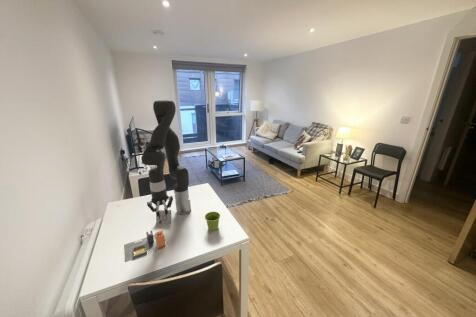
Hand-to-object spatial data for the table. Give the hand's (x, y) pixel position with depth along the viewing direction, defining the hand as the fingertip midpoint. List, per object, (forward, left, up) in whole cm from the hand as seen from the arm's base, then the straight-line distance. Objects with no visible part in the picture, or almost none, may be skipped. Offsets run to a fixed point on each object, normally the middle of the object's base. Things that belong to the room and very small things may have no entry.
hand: (162, 215), depth 110 cm
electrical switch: (-2, -14, -15) cm, 21 cm away
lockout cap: (+3, +6, -14) cm, 15 cm away
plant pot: (-27, +6, -15) cm, 32 cm away
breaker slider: (+8, 0, -14) cm, 16 cm away
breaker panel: (+11, +3, -15) cm, 19 cm away
